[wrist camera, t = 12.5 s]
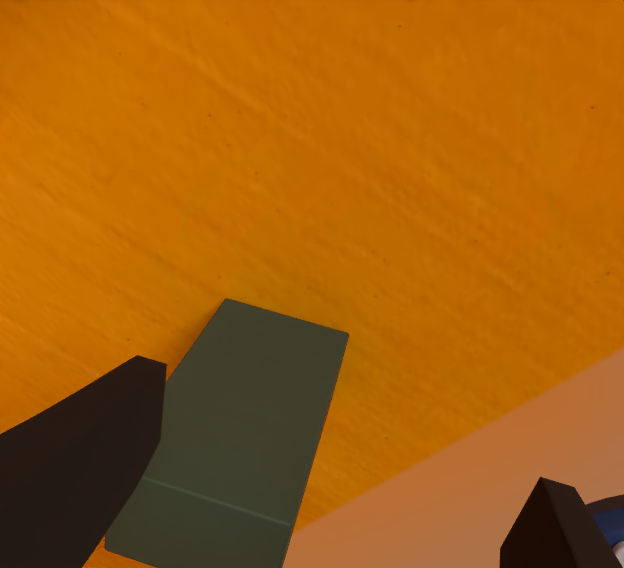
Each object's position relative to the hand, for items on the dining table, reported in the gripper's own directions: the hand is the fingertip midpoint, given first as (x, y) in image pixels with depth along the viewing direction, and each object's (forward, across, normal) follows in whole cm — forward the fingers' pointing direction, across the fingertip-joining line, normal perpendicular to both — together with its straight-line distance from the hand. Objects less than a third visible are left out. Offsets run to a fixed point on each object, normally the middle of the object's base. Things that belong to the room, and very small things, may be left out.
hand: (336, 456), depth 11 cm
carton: (+6, +3, +4) cm, 8 cm away
